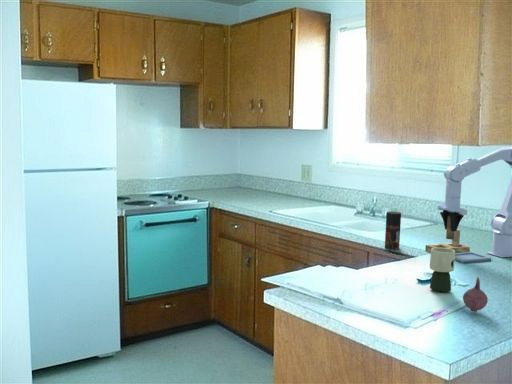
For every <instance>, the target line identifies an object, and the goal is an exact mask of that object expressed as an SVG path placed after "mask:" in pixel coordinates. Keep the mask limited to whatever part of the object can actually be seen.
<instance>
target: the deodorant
mask: <svg viewBox="0 0 512 384" xmlns="http://www.w3.org/2000/svg"><path fill="white" fill-rule="evenodd" d="M401 220H402V212H399V211H387V212H386V217H385V235H384V236H385V237H384V248H385V249H388V250H400V243H401V242H400V241H401V240H400V239H401V237H400V236H401V222H402V221H401Z"/></svg>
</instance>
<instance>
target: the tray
mask: <svg viewBox="0 0 512 384" xmlns="http://www.w3.org/2000/svg"><path fill="white" fill-rule="evenodd" d="M491 261H492V257H491V256H488V255H483V254H480V253H477V252H473V251H470V252H464V253H455V262H458V263H461V264H468V263H480V262H491Z"/></svg>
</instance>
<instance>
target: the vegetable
mask: <svg viewBox="0 0 512 384" xmlns="http://www.w3.org/2000/svg"><path fill="white" fill-rule="evenodd" d="M475 278H476V282H475V285H474V286H473V287H471V288H470V289H468V290H466V291H465V292H464V293H463V296H462V301H463V304H464V306H466V307H467V308H468V309H470V311H471V312H473V313H477V312H478V311H481V310H483V309H484V308H485V307H486V306H487V304H488V296H487V294H486V293H485V291H483V290H482V289H481V285H480V284H481V283H480V281H481V280H480V277H479V276H476V277H475Z"/></svg>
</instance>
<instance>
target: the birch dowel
mask: <svg viewBox="0 0 512 384" xmlns="http://www.w3.org/2000/svg"><path fill="white" fill-rule="evenodd" d="M460 239H461V230H460V229H458V228H457V231H455V232H454V239H451V243H452V246H453V247H459V244H460V241H461V240H460Z"/></svg>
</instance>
